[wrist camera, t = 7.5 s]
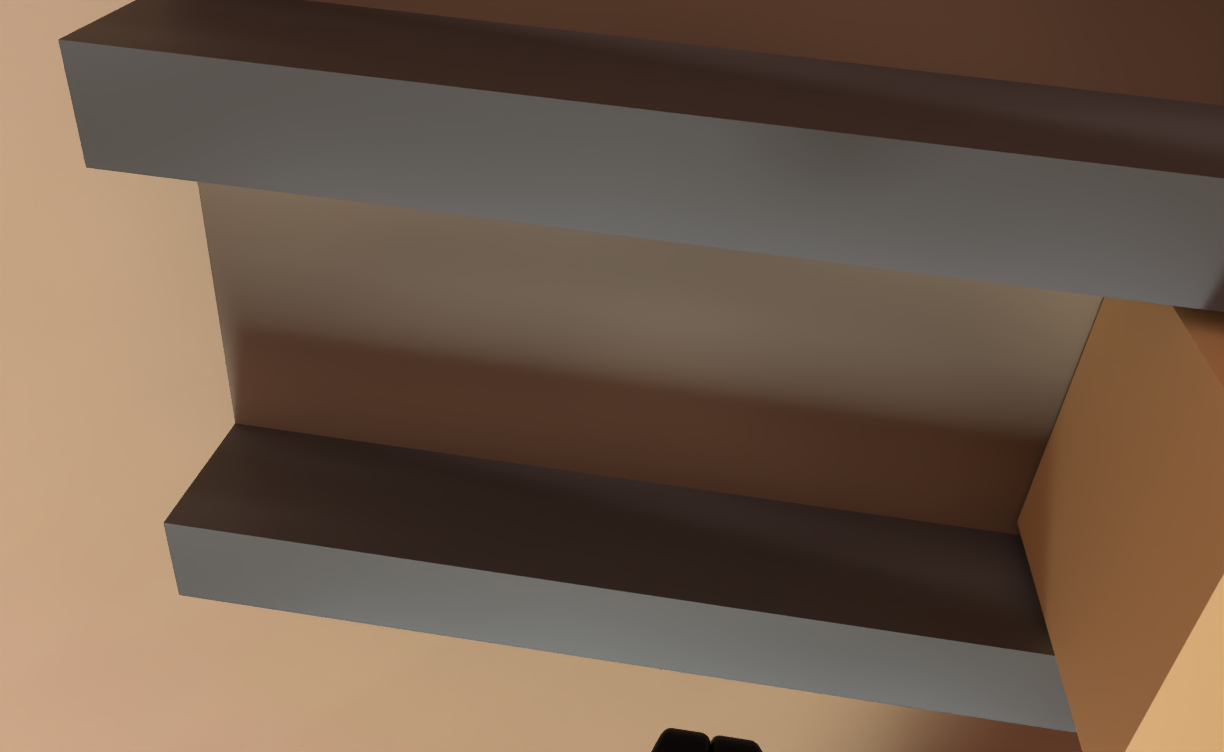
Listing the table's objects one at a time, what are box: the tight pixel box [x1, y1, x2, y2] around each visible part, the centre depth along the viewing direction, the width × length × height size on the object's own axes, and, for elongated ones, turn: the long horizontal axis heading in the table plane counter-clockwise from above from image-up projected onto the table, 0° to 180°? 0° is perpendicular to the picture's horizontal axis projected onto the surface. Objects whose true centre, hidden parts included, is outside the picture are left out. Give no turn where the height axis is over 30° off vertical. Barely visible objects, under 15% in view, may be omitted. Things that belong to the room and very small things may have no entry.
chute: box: [59, 0, 1224, 733], centre depth 15 cm, size 14×19×4 cm
